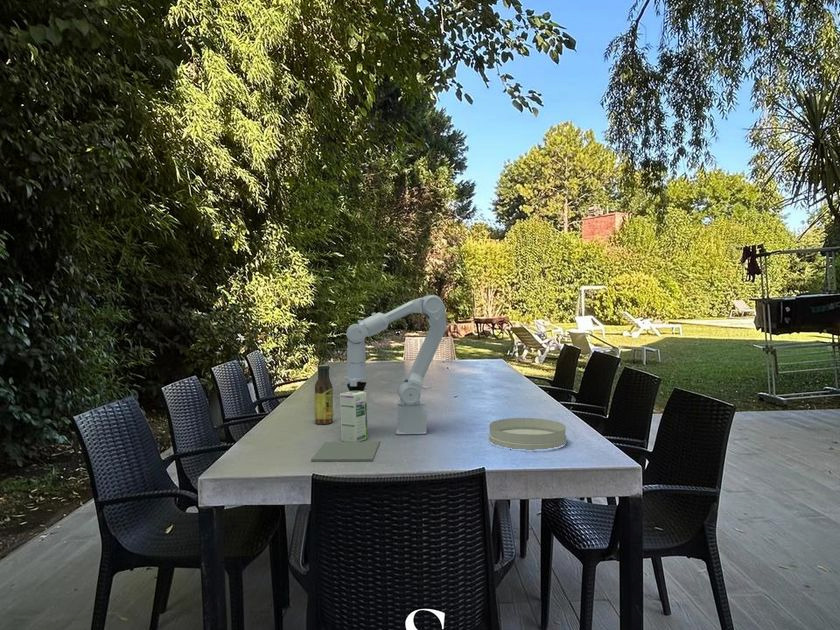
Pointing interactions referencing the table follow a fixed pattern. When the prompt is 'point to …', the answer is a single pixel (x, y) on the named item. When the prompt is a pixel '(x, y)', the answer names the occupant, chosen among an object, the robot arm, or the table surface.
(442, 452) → the table surface
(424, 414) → the robot arm
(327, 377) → the sauce bottle
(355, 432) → the syrup box
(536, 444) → the dish
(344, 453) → the mat
